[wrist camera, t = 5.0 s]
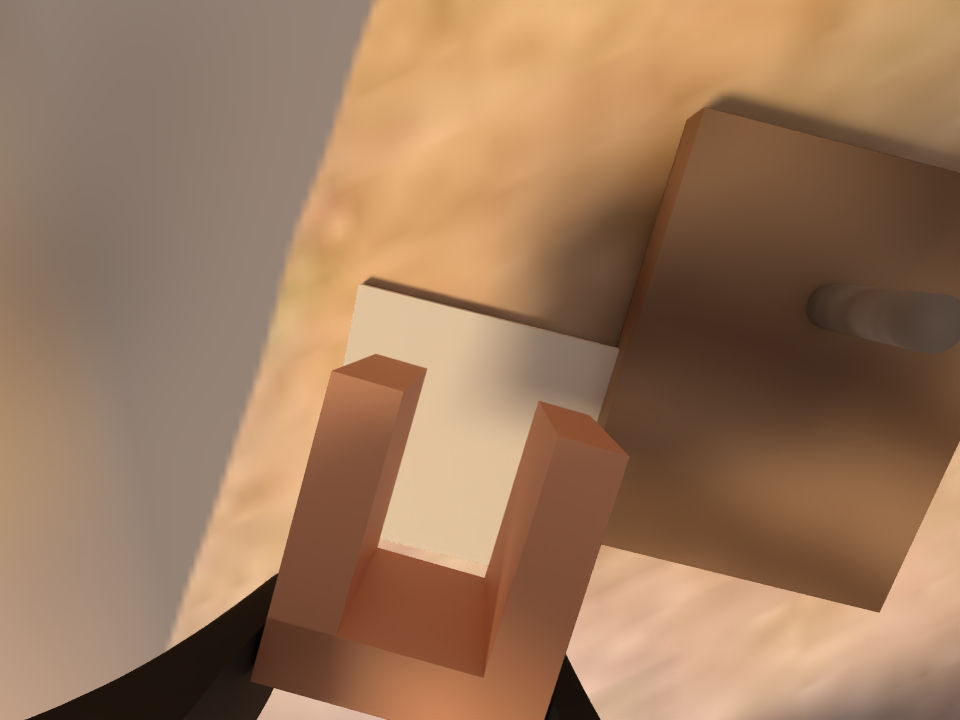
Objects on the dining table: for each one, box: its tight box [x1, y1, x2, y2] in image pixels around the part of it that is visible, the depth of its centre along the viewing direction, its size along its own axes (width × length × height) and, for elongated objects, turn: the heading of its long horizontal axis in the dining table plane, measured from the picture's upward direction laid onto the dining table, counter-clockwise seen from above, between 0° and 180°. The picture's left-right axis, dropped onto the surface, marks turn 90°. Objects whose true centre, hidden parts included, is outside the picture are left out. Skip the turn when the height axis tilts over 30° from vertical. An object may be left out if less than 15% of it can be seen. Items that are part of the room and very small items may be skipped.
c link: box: [251, 354, 630, 720], centre depth 11 cm, size 6×5×4 cm
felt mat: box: [343, 284, 619, 565], centre depth 19 cm, size 9×9×1 cm
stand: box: [597, 107, 960, 612], centre depth 15 cm, size 14×11×6 cm
